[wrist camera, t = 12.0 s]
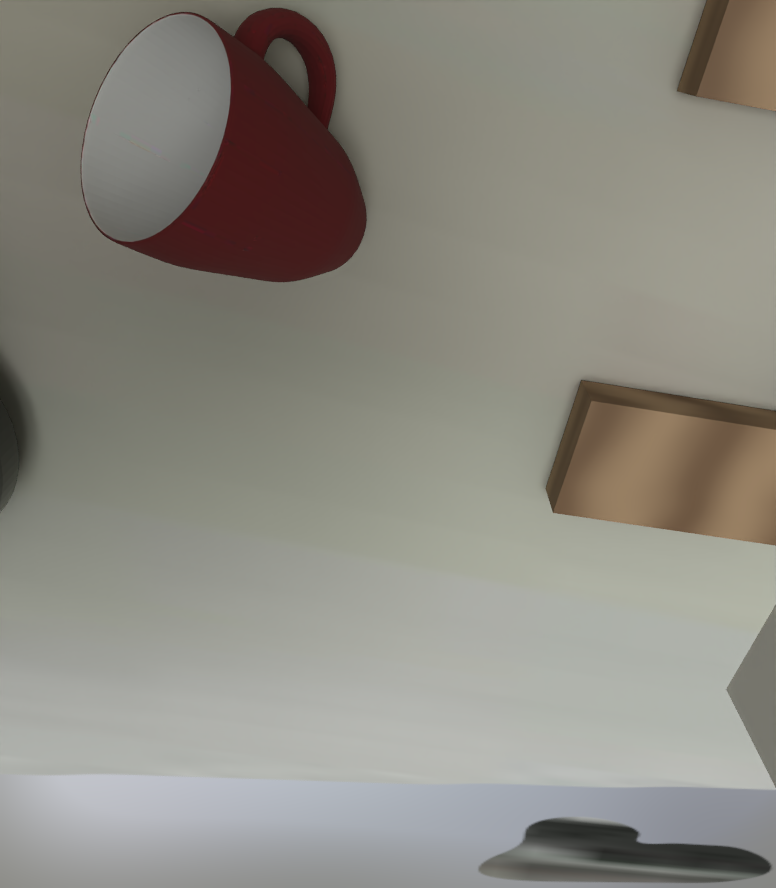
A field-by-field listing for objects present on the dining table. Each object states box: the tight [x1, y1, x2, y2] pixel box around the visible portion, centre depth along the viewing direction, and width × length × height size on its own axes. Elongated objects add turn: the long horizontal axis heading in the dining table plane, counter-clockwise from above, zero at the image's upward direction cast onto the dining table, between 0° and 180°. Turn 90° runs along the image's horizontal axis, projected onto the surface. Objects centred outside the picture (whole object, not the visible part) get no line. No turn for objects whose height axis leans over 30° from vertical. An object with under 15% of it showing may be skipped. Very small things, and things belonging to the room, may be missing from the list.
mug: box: [81, 8, 367, 282], centre depth 29 cm, size 11×8×10 cm
